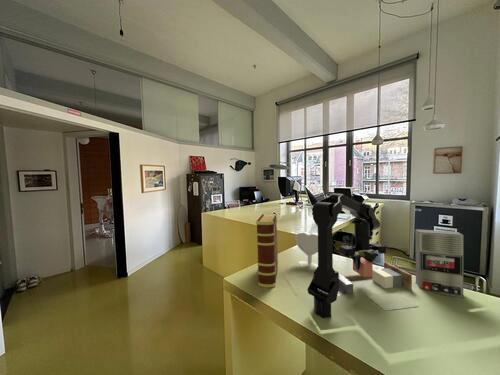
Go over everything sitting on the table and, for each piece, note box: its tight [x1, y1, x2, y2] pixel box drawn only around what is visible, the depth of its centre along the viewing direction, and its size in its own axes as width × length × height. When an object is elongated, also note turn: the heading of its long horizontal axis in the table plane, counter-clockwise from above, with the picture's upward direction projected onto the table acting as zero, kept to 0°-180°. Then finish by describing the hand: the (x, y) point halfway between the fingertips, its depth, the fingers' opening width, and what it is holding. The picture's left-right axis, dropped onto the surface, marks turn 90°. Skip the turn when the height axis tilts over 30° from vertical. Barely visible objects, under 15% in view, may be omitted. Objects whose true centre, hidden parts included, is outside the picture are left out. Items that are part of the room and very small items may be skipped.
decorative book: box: [255, 213, 279, 289], centre depth 102 cm, size 22×8×30 cm, turn 168°
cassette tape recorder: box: [414, 229, 466, 299], centre depth 83 cm, size 14×6×25 cm, turn 64°
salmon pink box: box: [352, 256, 374, 277], centre depth 87 cm, size 7×4×6 cm, turn 8°
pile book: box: [366, 292, 419, 312], centre depth 76 cm, size 9×13×2 cm
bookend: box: [337, 273, 354, 296], centre depth 86 cm, size 9×7×4 cm
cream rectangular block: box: [371, 268, 394, 289], centre depth 89 cm, size 7×4×6 cm, turn 8°
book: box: [380, 268, 403, 288], centre depth 90 cm, size 7×4×6 cm, turn 8°
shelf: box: [343, 261, 413, 291], centre depth 88 cm, size 13×33×8 cm, turn 98°
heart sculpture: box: [294, 231, 318, 269], centre depth 115 cm, size 16×5×18 cm, turn 54°
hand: (362, 269), depth 88 cm, fingers closed on salmon pink box, 4 cm apart
